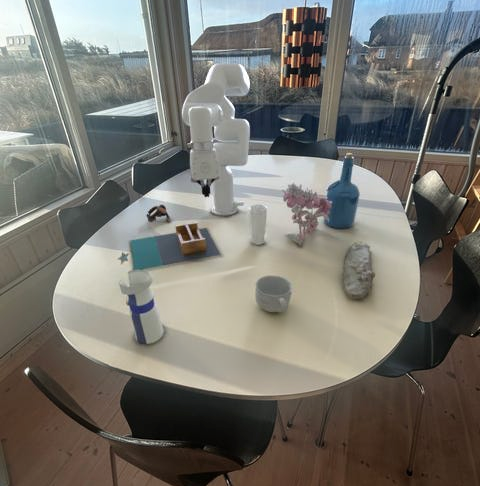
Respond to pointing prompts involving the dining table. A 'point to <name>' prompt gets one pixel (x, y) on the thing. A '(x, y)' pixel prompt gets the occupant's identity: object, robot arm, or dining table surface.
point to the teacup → (273, 293)
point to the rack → (190, 239)
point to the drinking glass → (257, 223)
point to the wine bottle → (343, 197)
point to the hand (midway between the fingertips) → (206, 195)
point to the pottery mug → (158, 213)
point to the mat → (166, 251)
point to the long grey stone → (358, 271)
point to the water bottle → (142, 305)
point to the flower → (305, 199)
